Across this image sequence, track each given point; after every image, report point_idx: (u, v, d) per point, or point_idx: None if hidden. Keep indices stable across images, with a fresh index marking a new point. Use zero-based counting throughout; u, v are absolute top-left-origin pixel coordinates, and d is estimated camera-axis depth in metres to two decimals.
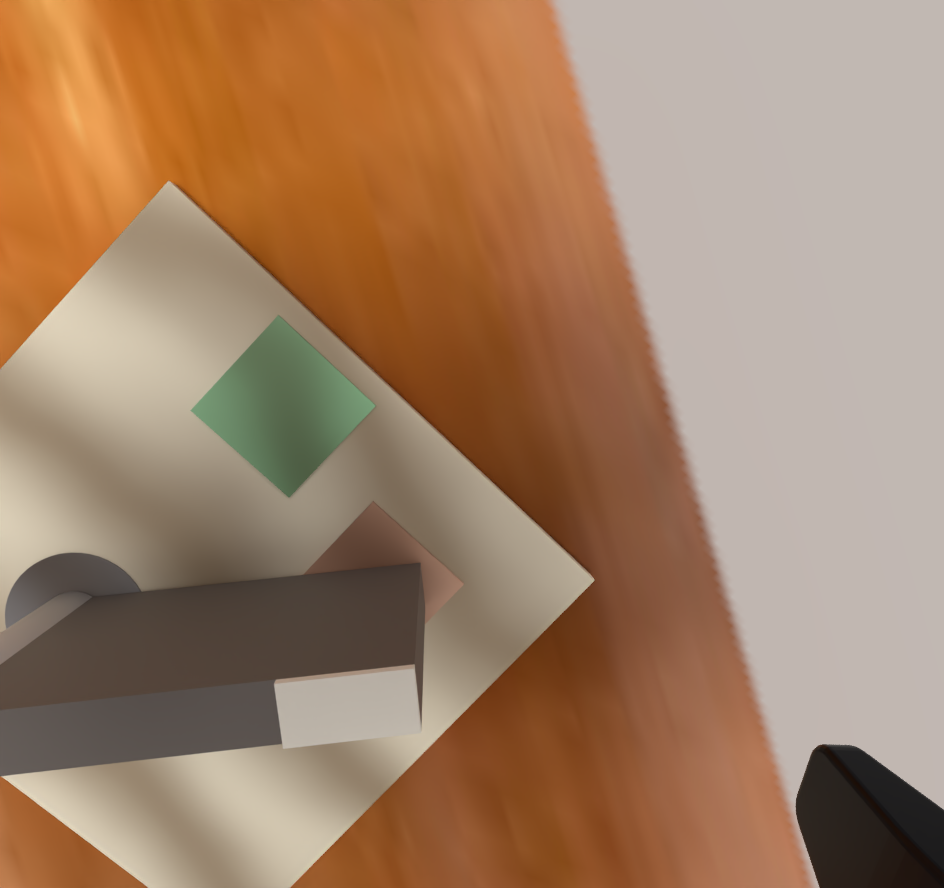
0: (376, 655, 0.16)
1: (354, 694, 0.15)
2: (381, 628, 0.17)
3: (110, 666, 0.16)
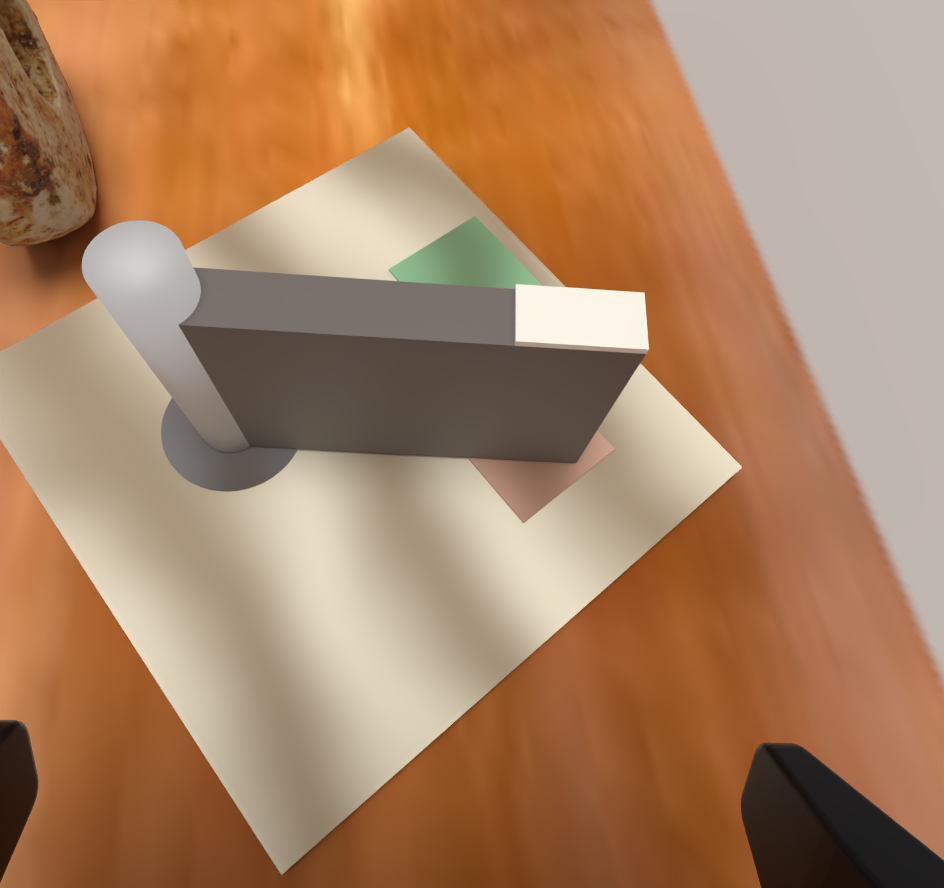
0: None
1: (588, 305, 0.16)
2: None
3: None
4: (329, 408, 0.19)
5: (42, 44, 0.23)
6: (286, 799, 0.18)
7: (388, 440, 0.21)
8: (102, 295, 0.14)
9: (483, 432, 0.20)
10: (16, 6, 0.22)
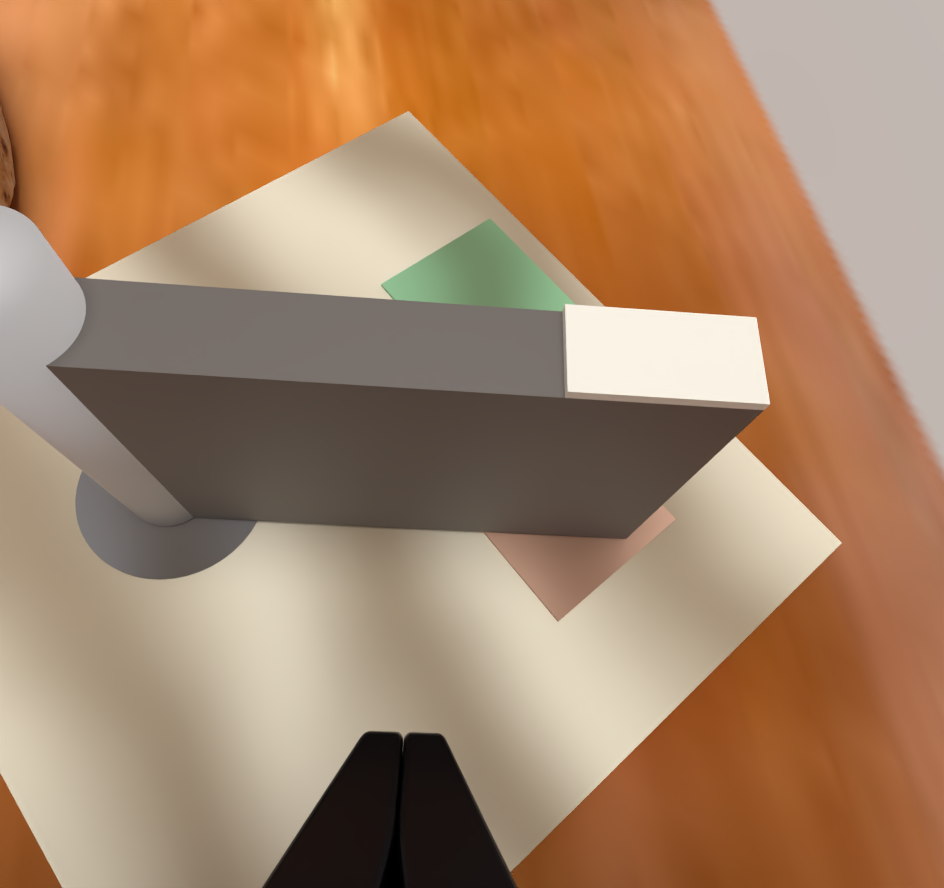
0: None
1: (674, 335, 0.10)
2: None
3: None
4: (293, 476, 0.14)
5: None
6: None
7: (378, 512, 0.16)
8: None
9: (506, 504, 0.15)
10: None
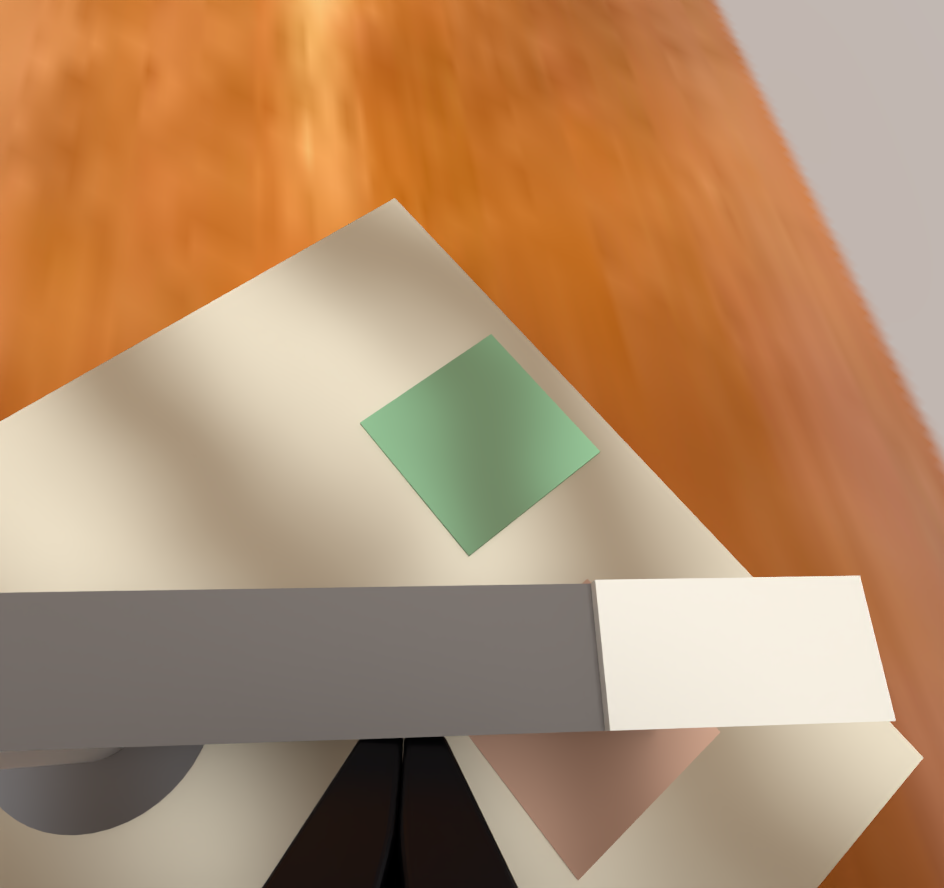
0: None
1: (752, 617, 0.07)
2: None
3: None
4: None
5: None
6: None
7: None
8: None
9: None
10: None
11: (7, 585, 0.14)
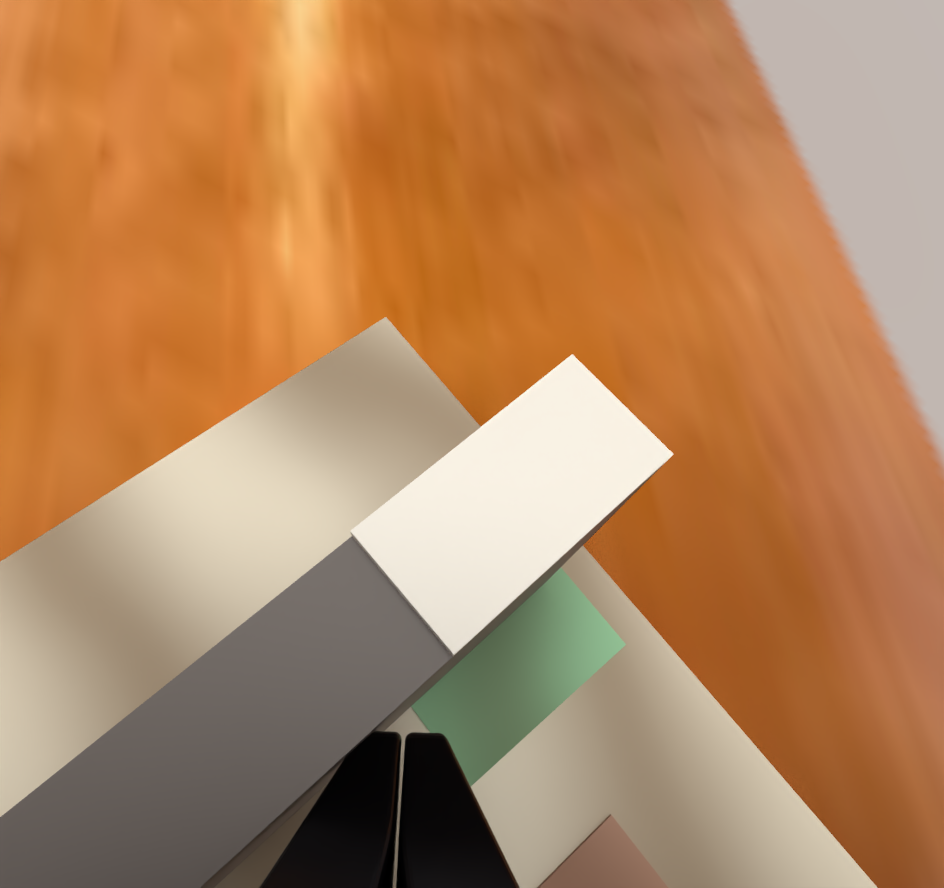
0: None
1: (509, 457, 0.07)
2: None
3: None
4: None
5: None
6: None
7: (293, 813, 0.11)
8: None
9: None
10: None
11: None
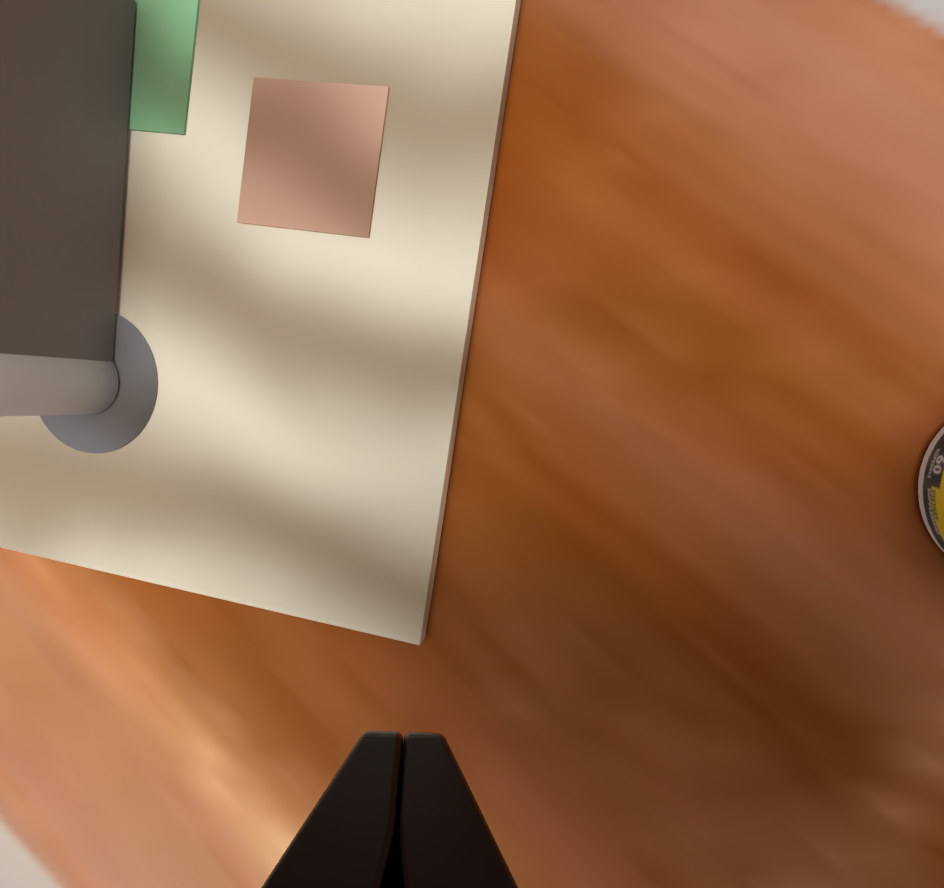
0: None
1: None
2: None
3: None
4: (29, 243, 0.17)
5: None
6: (379, 598, 0.20)
7: (94, 203, 0.19)
8: None
9: (70, 83, 0.18)
10: None
11: None
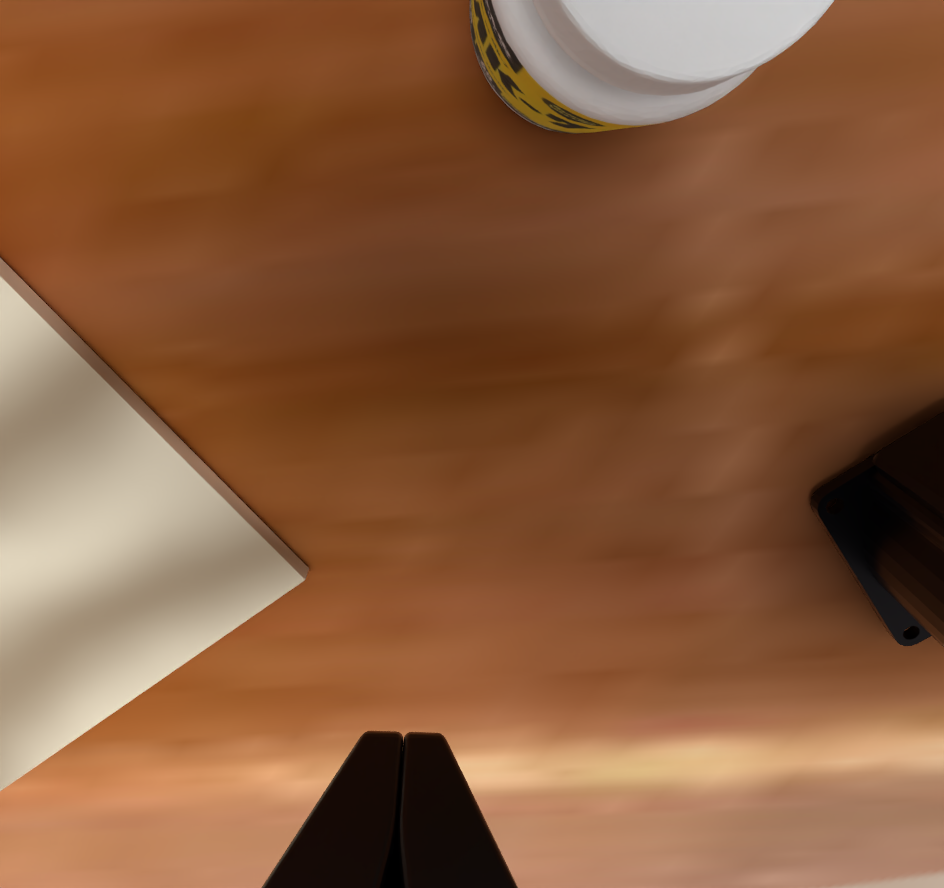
0: None
1: None
2: None
3: None
4: None
5: None
6: (243, 579, 0.20)
7: None
8: None
9: None
10: None
11: None
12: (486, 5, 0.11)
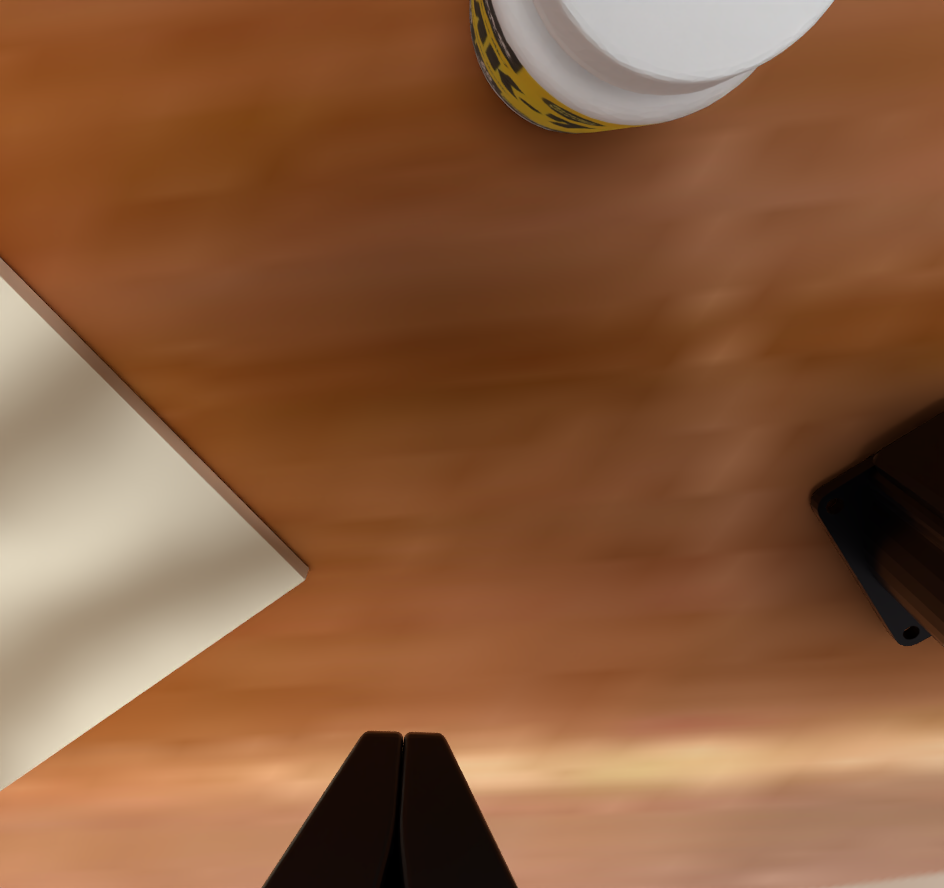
0: None
1: None
2: None
3: None
4: None
5: None
6: (243, 579, 0.20)
7: None
8: None
9: None
10: None
11: None
12: (486, 5, 0.11)
